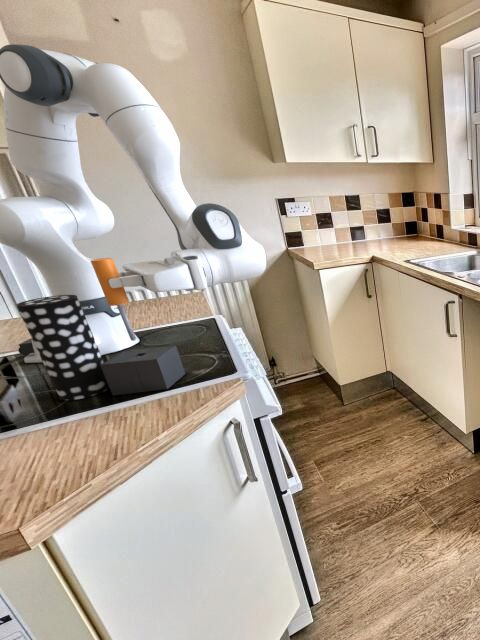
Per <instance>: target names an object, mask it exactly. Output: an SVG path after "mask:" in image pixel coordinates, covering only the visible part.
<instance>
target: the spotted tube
mask: <svg viewBox="0 0 480 640" xmlns="http://www.w3.org/2000/svg"><path fill="white" fill-rule="evenodd" d="M15 306H16V308H17V310H18V312H19V314H20V316H21V319H22V321H23V323H24V326H25V327H26V329H27V331H28V334H29V335H30V339H32V340H33V342H34V344H35V346H36V349H37V351H38V353H39V355H40V357H41V359H42V361H43V362H42V364H43V365H44V369H45V370H46V372H47V374H48V376H49V379H50V380H51V383H52V385H53V387H54V389H55V392H56V393H57V395H58V398H59V399H60V400H62V401H76V400H81V399H82V400H83V399H85V398H91V397H94V396H96V395H98V394H102V393H104V392H106V391H108V390H110V387H109V385H108V383H107V380H106V378H105V375H104V373H103V371H102V368H101V366H100V365H101V364H103V363H104V362H105V360H104V359H103V355H101V354H100V351H99V349H98V346H97V344H96V341H95V339H94V337H93V334H92V332H91V329H90V327H89V324H88V322H87V320H86V317H85V315H84V312H83V310H82V307H81V305H80V302H79V300H78V298H77V296H76V295H58V296H53V295H50V296H43V297H38V298H33V299H28V300H24V301H20V302H19V303H16V305H15Z"/></svg>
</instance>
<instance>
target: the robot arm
mask: <svg viewBox="0 0 480 640" xmlns="http://www.w3.org/2000/svg"><path fill="white" fill-rule="evenodd" d="M0 80H1V82H2V83H3V85H4V91H3V100H2V101H3V102H2V104H3V107H2V108H3V109H2V110H3V122H4V130H5V136H6V143H7V148H8V154H9V161H10V163H11V165H12V166H13V168H14V169H16V170H17V171H19V172H20V173H22V174H23V175H25V176H27V177H29V178H31V179H32V180H33V181H34V182H35V184H36V185H37V187H38V189H39V194H40V195H35V196H11V197H6V198H1V199H0V244H2V245H5V246H7V247H9V248H11V249H13V250H16V251H17V252H19V253H20V254H22V255H23V256H24V257H25V258H27V259H28V260H29V261H30V262H31V263H32V264H33V265H34V266H35V267H36V268H37V269H38V271H39V272H40V274H41V275H42V276H43V278H44V280H45V283H46V284H47V287H48V289H49V291H50V292H51V293H50V294H51V296H58V295H76V296H77V298H78V300H79V302H80V305H81V307H82V310H83V312H84V315H85V317H86V320H87V322H88V324H89V327H90V329H91V332H92V334H93V337H94V339H95V341H96V344H97V346H98V349H99V351H100V354H101V356H104V355H108V354H111V353H116V352H119V351H122V350H123V351H124V350H127V349H128V348H131V347H133V346H135V345H136V344H138V343H140V338H139V337H138V336H137V335H136V334H135V337H136V340H134V341H132V340H131V339H130V337H129V334H128V332H127V329H126V327H125V324H124V322H123V319H122V317H121V314H120V312H119V309H118V307H117V305H116V306H109V305H108V302H107V300H106V297H105V295H104V293H103V290H102V288H101V285H100V283H99V281H98V278H97V276H96V273H95V271H94V268H93V266H92V264H91V260H94V259H93V258H90V257H88V256H87V257H86V256H85V255H84V254H83V253H81V251H79V249H78V248H77V247H76V245H75V244H74V242H79V241H87V240H93V239H96V238H99V237H101V236H104V235H107V234H108V233H110V232H111V231H112V230H113V229H114V227H115V217H114V213H113V212H112V210H111V208H109V206H108V205H107V204H106V203H105V202H103V201H102V200H100V199H99V198H97V197H96V195H95V194H94V193H93V192H92V190H91V189H90V187H89V185H88V183H87V181H86V179H85V177H84V174H83V169H82V161H81V156H80V149H79V148H80V147H79V140H78V139H79V138H78V132H77V126H76V124H77V123H76V122H77V121H76V120H77V118H78V117H79V116H80V115H82V114H88V115H89V116H91V117H94V118H96V117H100V120H101V121H102V122H103V123H104V125H105V126H106V128H107V129H108V131H109V132H110V133H111V135H112V136H113V137H114V139H115V140H116V141H117V143H118V144H119V145H120V147H121V148H122V150H123V151H124V152H125V153H126V155H127V156H128V157H129V159H130V160H131V161H132V163H133V165H134V166H135V168H136V169H137V170H138V172H139V173H140V175H141V176H142V178H143V179H144V181H145V183H147V185H148V187H149V189H150V190H151V192H152V193H153V196H155V198H156V200H157V201H158V204H160V206H161V207H162V209H163V210H164V212H165V213H166V216H168V218H169V220H170V221H171V223H172V224H173V226H174V228H175V231H176V235H177V241H178V245H179V247H180V249H178V250H172V251H171V252H170V257H165V258H164V259H163V260H149V261H148V260H147V261H139V262H130V263H125V264H123V265H122V267H121V268H122V271H119V272H118V274H119V276H120V277H116V278H109V279H108V280H107V282H108V284H109V286H110V287H112V288H119V287H124V288H131V287H132V288H135V287H141V288H144V289H146V290H148V291H150V292H153V293H165V292H177V291H185V292H189V291H201V290H202V291H203V290H206V289H208V288H212V287H215V286H216V285H220V284H235V283H239V282H243V281H249V280H252V279H255V278H258V277H260V276H262V275H263V274H264V273H265V271H266V269H267V265H268V258H267V252H266V249H265V248H264V246H263V245H262V244H261V243H260V242H258V241H256V240H254V239H253V238H252V237H251V236H250V235H249V234H248V233H247V232H246V230H245V229H244V228H243V226H242V225H241V224H240V222H239V220H238V217H237V216H236V215H235V213H233V212H232V211H231V210H230V209H228V208H227V207H225V206H223V205H221V204H217V203H209V202H207V203H202V204H199V205H196V204H195V202H194V200H193V199H192V197H191V196H190V194H189V192H188V191H187V189H186V187H185V185H184V183H183V179H182V174H181V164H180V163H181V162H180V161H181V142H180V139H179V137H178V134H177V132H176V130H175V128H174V125H173V124H172V122H171V120H170V119H169V118H168V116H167V115H166V113H165V112H164V111H163V109H162V107H161V106H160V105H159V104H158V102H157V100H155V98H154V97H153V96H152V94H150V92H149V91H148V90H147V88H145V87H146V86H144V85H143V84H142V83H141V82H140V81H139V80H138V79H137V78H136V77H135V75H133V73H131V72H130V71H129V70H128V69H127V68H125V67H123V66H121V65H119V64H115V63H111V62H93V61H92V60H88V59H86V58H83V57H80V56H78V55H77V56H76V55H74V54H70V53H67V52H59V51H53V50H49V49H44V48H43V49H42V48H39V47H36V46H33V45H28V44H17V43H16V44H15V43H14V44H13V43H12V44H6V45H3V46H1V48H0ZM18 346H19V347H18V350H17V351H18V353H19V354H21V356H22V355H23V356H24V358H23V362H24V363H25V364H36V363H43V361H42V359H41V357H40V355H39V353H38V351H37V349H36V346H35V344H34V342H33V340H32V338H29V339H28V338H27V339H26V340H24V341H23V342H21V343H19V344H18Z"/></svg>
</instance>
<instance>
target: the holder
mask: <svg viewBox="0 0 480 640" xmlns="http://www.w3.org/2000/svg"><path fill="white" fill-rule="evenodd" d="M100 366H101V368H102V371H103V373H104V375H105V378H106V380H107V383H108V385H109V387H110V389H109V390H110V392H111V394H112V396H120V395H129V394H137V393H138V394H139V393H147V392H156V391H162V390H169V388H171V387H173V385H174V384H175V383H176V382H178V381H179V380H180V379H182V377H183V376H185V375H186V372H185V368H184V366H183V363H182V360H181V356H180V353H179V351H178V347H177V346H176V345H166V346H158V347H157V346H156V347H148V348H136V349H124V350H123V351H121V352H120V353H117V354H116V355H114V356H112V357H111V358H109V359H108V360H106V361H104V363H103V364H101V365H100Z"/></svg>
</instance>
